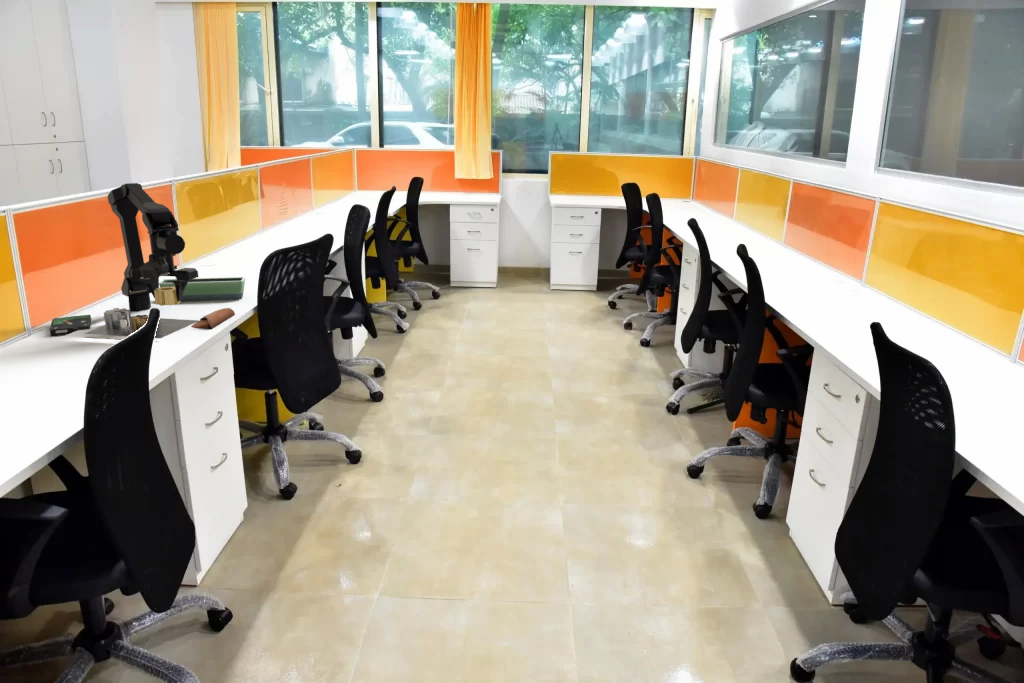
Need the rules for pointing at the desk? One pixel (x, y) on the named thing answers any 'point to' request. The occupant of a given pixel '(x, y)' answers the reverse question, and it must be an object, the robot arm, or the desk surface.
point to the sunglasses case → (214, 319)
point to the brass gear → (165, 296)
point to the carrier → (136, 324)
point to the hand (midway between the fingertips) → (168, 300)
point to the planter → (210, 288)
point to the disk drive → (69, 325)
